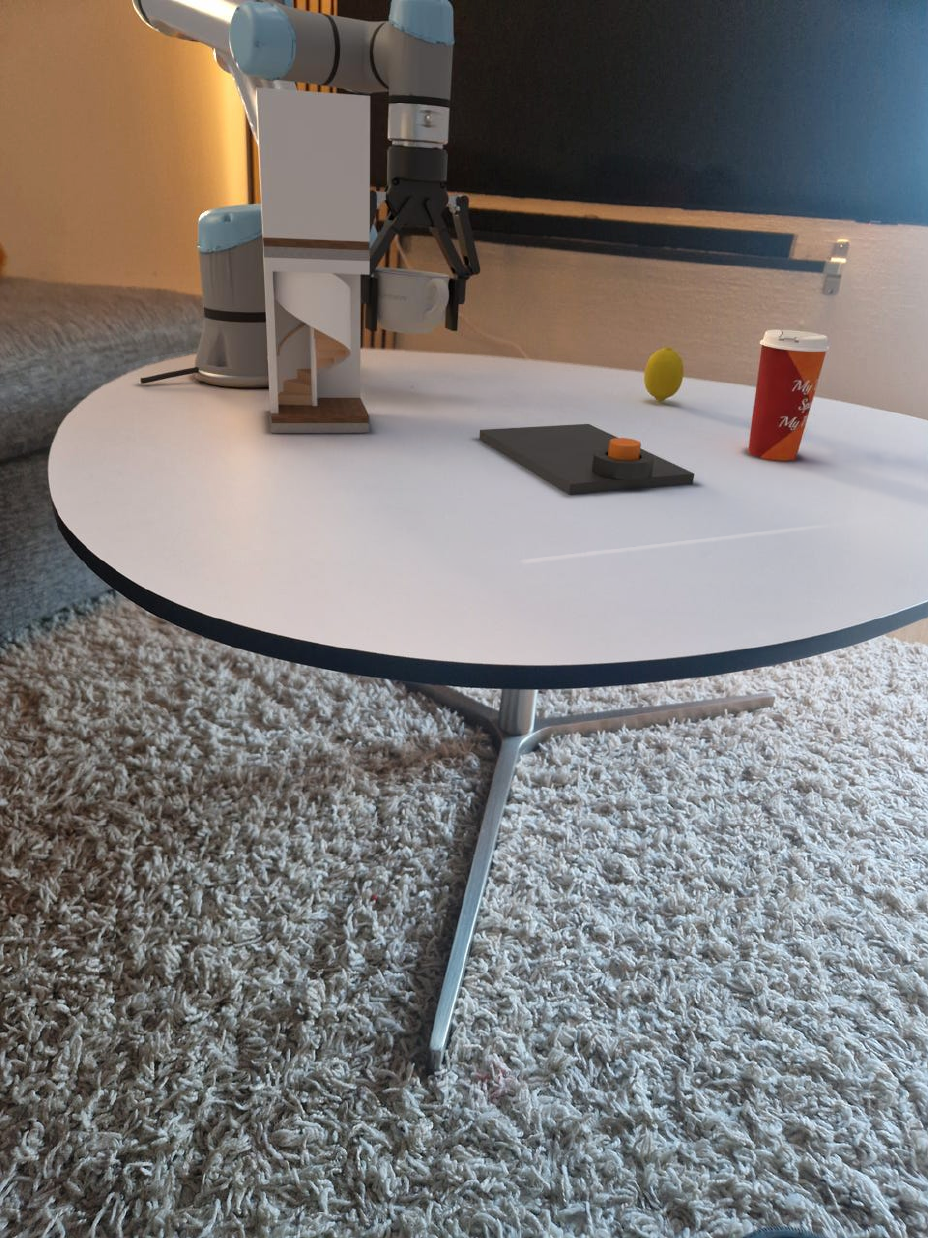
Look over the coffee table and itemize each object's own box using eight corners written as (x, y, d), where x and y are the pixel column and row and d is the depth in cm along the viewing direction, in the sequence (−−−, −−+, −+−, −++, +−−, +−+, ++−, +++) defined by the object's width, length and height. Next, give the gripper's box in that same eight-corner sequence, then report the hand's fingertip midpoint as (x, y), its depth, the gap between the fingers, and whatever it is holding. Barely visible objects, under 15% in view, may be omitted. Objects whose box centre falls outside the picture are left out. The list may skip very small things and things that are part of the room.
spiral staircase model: (271, 432, 105) (256, 87, 90) (270, 411, 114) (256, 95, 99) (368, 432, 107) (370, 95, 92) (359, 412, 117) (359, 102, 101)
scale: (571, 497, 89) (575, 467, 87) (479, 439, 107) (480, 414, 106) (696, 486, 94) (700, 458, 93) (587, 432, 113) (590, 409, 111)
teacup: (357, 325, 125) (357, 263, 121) (428, 324, 129) (431, 265, 125) (392, 343, 114) (394, 276, 110) (469, 342, 118) (473, 277, 114)
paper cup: (796, 467, 103) (824, 341, 97) (731, 454, 107) (753, 332, 100) (812, 453, 109) (838, 334, 103) (749, 442, 113) (771, 326, 107)
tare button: (618, 463, 91) (620, 446, 90) (601, 455, 93) (603, 438, 93) (644, 461, 92) (647, 444, 91) (627, 453, 95) (630, 436, 94)
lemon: (637, 403, 130) (644, 346, 127) (645, 396, 135) (652, 341, 132) (675, 408, 129) (684, 350, 125) (681, 401, 133) (690, 345, 130)
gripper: (335, 138, 104) (335, 334, 114) (515, 152, 113) (501, 333, 122) (318, 138, 110) (320, 324, 120) (490, 152, 119) (478, 324, 128)
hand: (411, 329), depth 121 cm, fingers closed on teacup, 11 cm apart
